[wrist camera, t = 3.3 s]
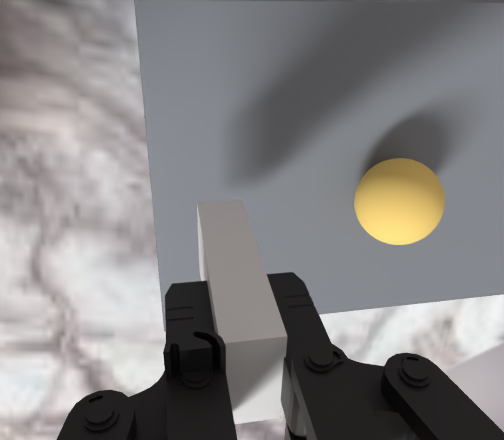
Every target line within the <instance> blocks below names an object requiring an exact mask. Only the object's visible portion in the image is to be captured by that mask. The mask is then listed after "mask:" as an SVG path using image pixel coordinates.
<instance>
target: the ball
mask: <svg viewBox="0 0 504 440" xmlns="http://www.w3.org/2000/svg"><path fill="white" fill-rule="evenodd" d="M354 207H355V212H356V215H357V218H358V220H359V222H360V224H361V226H362V227H363V228H364V229H365V230H366V232H368V233H369V234H370V235H371V236H372V237H374V238H375V239H377V240H379V241H382V242H384V243H388V244H393V245H405V244H411V243H414V242H417V241H419V240H421V239H423V238H425V237H426V236H427V235H429V234H430V233H431V232H432V231H433V230H434V229H435V228H436V226H437V225H438V223H439V222H440V220H441V218H442V215H443V212H444V207H445V195H444V190H443V187H442V185H441V182H440V181H439V179H438V177H437V176H436V175H435V173H434V172H433V171H432V170H431V169H429V168H428V167H427V166H425V165H424V164H422V163H420V162H417V161H415V160H411V159H406V158H394V159H389V160H385V161H383V162H380V163H378V164H377V165H375V166H373V167H372V168H371V169H369V170H368V171H367V172H366V173H365V175H364V176H363V177H362V178H361V180H360V182H359V184H358V186H357V188H356V192H355V197H354Z"/></svg>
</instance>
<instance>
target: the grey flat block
mask: <svg viewBox="0 0 504 440" xmlns="http://www.w3.org/2000/svg"><path fill="white" fill-rule="evenodd" d="M134 3H135V14H136V25H137V36H138V47H139V58H140V69H141V80H142V92H143V103H144V114H145V125H146V136H147V147H148V158H149V169H150V180H151V191H152V202H153V213H154V224H155V235H156V246H157V257H158V268H159V279H160V290H161V301H162V312H163V323H164V331H166V320H165V295H166V293H167V291H168V289H169V288H170V286H171V284H172V283H184V282H195V281H201V277H200V269H199V243H198V217H197V202H213V201H230V200H242V203H243V206H244V209H245V212H246V215H247V218H248V221H249V224H250V227H251V230H252V233H253V236H254V239H255V242H256V245H257V248H258V251H259V253H260V256H261V259H262V262H263V265H264V268H265V271H266V274H274V273H286V272H293V273H295V274H296V275H297V276H298V277H299V278H300V279H301V280H303V281H304V283H305V285H306V287H307V289H308V292H309V294H310V296H311V298H312V301H313V303H314V306H315V307H316V310H317V312H318V314H327V313H336V312H345V311H354V310H363V309H373V308H382V307H391V306H400V305H409V304H418V303H428V302H437V301H446V300H455V299H464V298H474V297H483V296H492V295H501V294H504V0H134ZM394 158H406V159H411V160H415V161H417V162H420V163H422V164H424V165H425V166H427V167H428V168H429V169H431V170H432V171H433V172H434V173H435V175H436V176H437V177H438V179H439V181H440V182H441V185H442V187H443V190H444V195H445V207H444V212H443V215H442V218H441V220H440V222H439V223H438V225H437V226H436V228H435V229H434V230H433V231H432V232H431V233H430V234H429V235H427V236H426V237H425V238H423V239H421V240H419V241H417V242H414V243H411V244H405V245H393V244H388V243H384V242H382V241H379V240H377V239H375V238H374V237H372V236H371V235H370V234H369V233H368V232H366V230H365V229H364V228H363V227H362V226H361V224H360V222H359V220H358V218H357V215H356V212H355V207H354V197H355V192H356V188H357V186H358V184H359V182H360V180H361V178H362V177H363V176H364V175H365V173H366V172H367V171H368V170H369V169H371V168H372V167H373V166H375V165H377V164H378V163H380V162H383V161H385V160H389V159H394Z"/></svg>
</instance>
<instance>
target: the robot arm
mask: <svg viewBox="0 0 504 440" xmlns="http://www.w3.org/2000/svg"><path fill="white" fill-rule="evenodd" d="M197 217H198V243H199V269H200V277H201V281H195V282H184V283H172V284H171V286H170V288H169V289H168V291H167V293H166V295H165V320H166V344H165V348H164V352H163V354H164V365H165V371H164V373H163V375H162V377H161V378H160V379H159V380H158V382H156V383H155V384H154V385H153V386H151V387H150V388H148V389H146V390H144V391H142V392H140V393H138V394H135V395H133V396H130V397H127V396H126V395H125V394H123V393H122V392H118V391H114V390H104V391H97V392H95V393H92V394H90V395H87V396H85V397H84V398H83V399H82V400H80V401H79V402H78V403H76V404H75V406H74V407H73V409H72V410H71V411H70V413H69V414H68V416H67V419H66V421H65V423H64V425H63V427H62V429H61V431H60V434H59V436H58V438H57V440H237V435H236V429H235V424H239V423H247V422H254V421H261V420H268V419H276V418H281V409H282V407H283V410H284V414H285V418H286V429H285V440H504V432H503V431H502V430H501V429H500V428H499V427H498V426H497V425H496V424H495V423H494V422H493V421H492V420H491V419H490V418H489V417H488V416H487V415H486V414H485V413H484V412H483V411H482V410H481V409H480V408H479V407H478V406H477V405H476V404H475V403H474V402H473V401H472V400H471V399H470V398H469V397H468V396H467V395H466V394H465V393H464V392H463V391H462V390H461V389H460V388H459V387H458V386H457V385H456V384H455V383H454V382H453V381H452V380H451V379H450V378H449V377H448V376H447V375H446V374H445V373H444V372H443V371H442V370H441V369H440V368H439V367H438V366H437V365H435V364H434V363H433V362H431V361H430V360H429V359H427V358H424V357H422V356H420V355H417V354H411V353H401V354H395V355H394V356H392V357H390V358H389V359H388V360H387V362H386V364H385V366H378V365H371V364H364V363H360V362H356V361H353V360H351V359H348V358H347V356H346V355H345V354H344V352H343V351H342V350H341V349H339V348H338V347H336V346H335V345H333V344H332V343H331V341H330V339H329V337H328V335H327V332H326V330H325V328H324V326H323V323H322V321H321V319H320V316H319V314H318V312H317V310H316V307H315V306H314V303H313V301H312V298H311V296H310V294H309V292H308V289H307V287H306V285H305V283H304V281H303V280H301V279H300V278H299V277H298V276H297V275H296V274H295V273H293V272H286V273H274V274H266V271H265V268H264V265H263V262H262V259H261V256H260V253H259V251H258V248H257V245H256V242H255V239H254V236H253V233H252V230H251V227H250V224H249V221H248V218H247V215H246V212H245V209H244V206H243V203H242V200H230V201H213V202H197Z"/></svg>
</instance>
